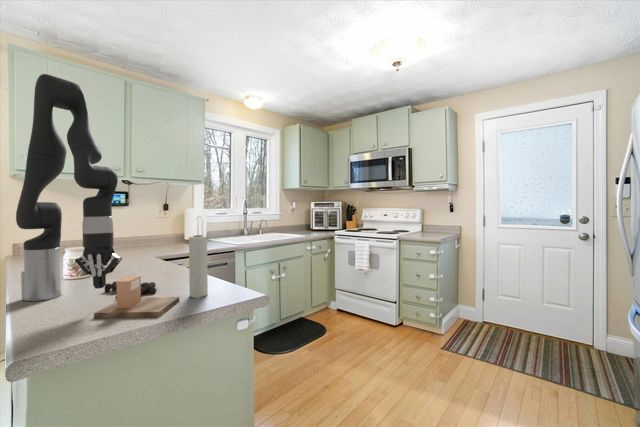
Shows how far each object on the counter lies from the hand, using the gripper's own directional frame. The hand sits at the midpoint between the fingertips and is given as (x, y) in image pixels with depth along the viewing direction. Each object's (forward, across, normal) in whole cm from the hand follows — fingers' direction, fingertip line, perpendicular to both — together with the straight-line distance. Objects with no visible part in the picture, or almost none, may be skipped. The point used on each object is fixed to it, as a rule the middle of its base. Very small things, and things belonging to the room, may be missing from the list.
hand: (99, 287), depth 91 cm
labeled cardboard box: (+6, +8, 0) cm, 10 cm away
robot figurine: (+7, -1, +20) cm, 21 cm away
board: (+7, +12, 0) cm, 14 cm away
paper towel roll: (+7, +25, +13) cm, 29 cm away
